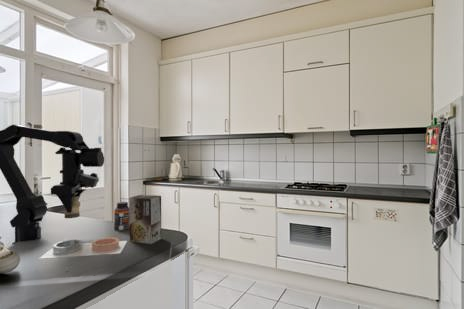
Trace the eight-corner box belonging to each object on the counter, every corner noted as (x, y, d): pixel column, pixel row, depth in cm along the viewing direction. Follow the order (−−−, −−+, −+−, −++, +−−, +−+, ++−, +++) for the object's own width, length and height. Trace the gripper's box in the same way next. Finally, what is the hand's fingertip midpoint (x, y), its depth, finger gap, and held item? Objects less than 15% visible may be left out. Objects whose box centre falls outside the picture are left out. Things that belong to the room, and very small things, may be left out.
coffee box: (162, 241, 97) (162, 195, 96) (151, 247, 90) (151, 198, 90) (140, 238, 100) (140, 194, 99) (128, 244, 93) (128, 196, 93)
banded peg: (62, 218, 94) (62, 198, 94) (67, 215, 99) (67, 196, 99) (76, 217, 95) (76, 197, 95) (81, 215, 100) (81, 195, 100)
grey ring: (48, 255, 80) (48, 248, 80) (59, 246, 88) (59, 240, 88) (76, 253, 82) (76, 246, 82) (85, 245, 89) (85, 239, 89)
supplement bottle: (124, 233, 106) (124, 204, 106) (111, 232, 107) (110, 203, 107) (133, 229, 112) (133, 201, 112) (120, 228, 113) (120, 200, 113)
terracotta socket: (89, 252, 83) (89, 246, 82) (96, 244, 90) (96, 238, 90) (115, 251, 84) (115, 244, 84) (121, 243, 91) (120, 237, 91)
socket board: (38, 262, 78) (38, 258, 78) (56, 247, 90) (56, 244, 90) (120, 256, 82) (120, 253, 82) (127, 243, 94) (127, 240, 94)
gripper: (87, 168, 89) (87, 215, 89) (103, 165, 108) (103, 205, 108) (49, 168, 87) (50, 217, 87) (72, 165, 105) (72, 206, 106)
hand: (72, 211), depth 97 cm, fingers closed on banded peg, 4 cm apart
